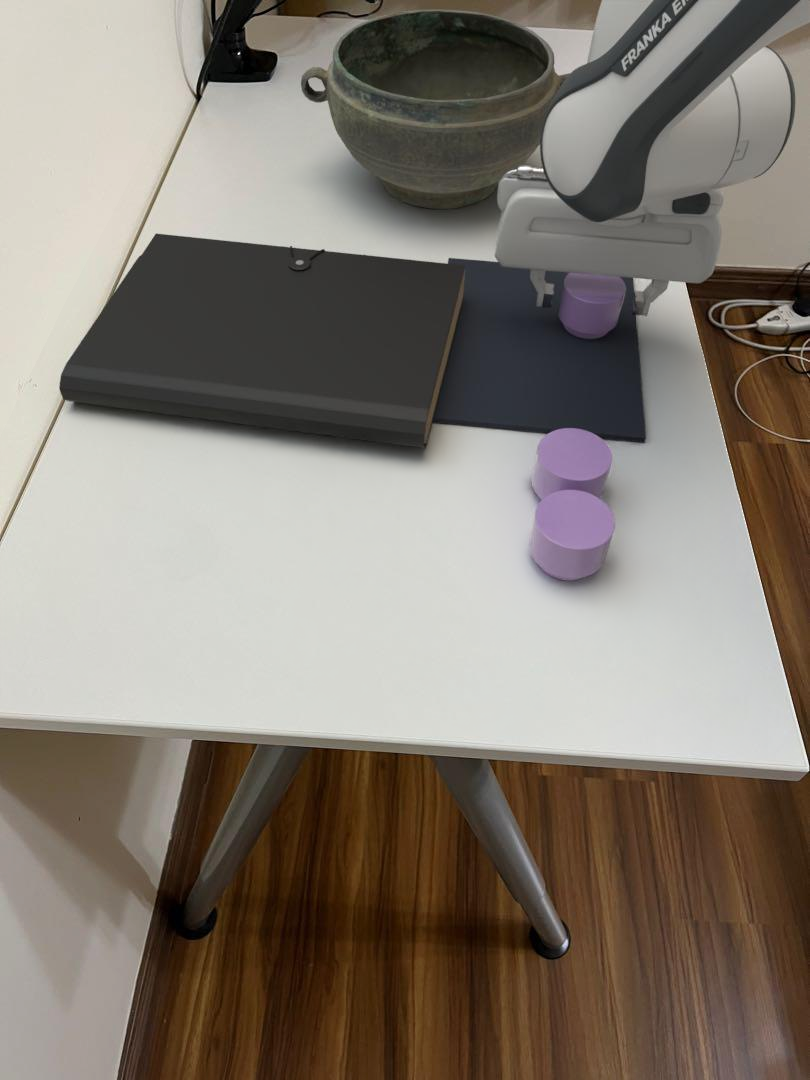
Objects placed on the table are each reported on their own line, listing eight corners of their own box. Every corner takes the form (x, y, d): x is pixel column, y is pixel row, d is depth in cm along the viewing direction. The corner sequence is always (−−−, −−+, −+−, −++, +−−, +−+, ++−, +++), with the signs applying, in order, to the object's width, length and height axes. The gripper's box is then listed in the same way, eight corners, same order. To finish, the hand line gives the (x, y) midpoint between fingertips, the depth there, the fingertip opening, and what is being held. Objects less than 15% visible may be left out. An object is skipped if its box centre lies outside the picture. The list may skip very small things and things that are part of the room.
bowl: (295, 231, 97) (282, 95, 85) (319, 126, 113) (311, 1, 102) (577, 241, 96) (602, 106, 85) (559, 134, 113) (579, 9, 101)
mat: (631, 277, 92) (632, 272, 91) (644, 443, 75) (646, 438, 75) (448, 262, 93) (448, 257, 93) (422, 421, 77) (422, 416, 76)
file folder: (466, 261, 85) (424, 424, 70) (464, 295, 88) (423, 459, 73) (155, 229, 89) (53, 377, 74) (164, 263, 92) (68, 412, 77)
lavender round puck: (615, 309, 87) (624, 270, 84) (617, 345, 83) (627, 305, 80) (556, 304, 88) (564, 265, 84) (556, 340, 84) (563, 300, 80)
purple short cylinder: (600, 470, 73) (611, 431, 70) (602, 522, 69) (613, 483, 66) (531, 463, 74) (538, 424, 70) (528, 515, 70) (536, 476, 66)
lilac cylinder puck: (602, 531, 69) (614, 493, 65) (604, 591, 65) (616, 553, 61) (528, 524, 69) (536, 485, 66) (526, 582, 65) (533, 544, 62)
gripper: (498, 181, 72) (484, 317, 83) (743, 200, 71) (696, 336, 81) (502, 146, 76) (488, 281, 87) (734, 163, 75) (691, 298, 85)
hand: (591, 308), depth 84 cm, fingers open, 8 cm apart
